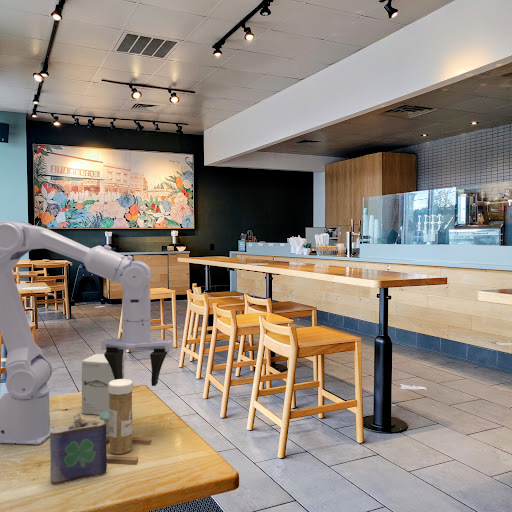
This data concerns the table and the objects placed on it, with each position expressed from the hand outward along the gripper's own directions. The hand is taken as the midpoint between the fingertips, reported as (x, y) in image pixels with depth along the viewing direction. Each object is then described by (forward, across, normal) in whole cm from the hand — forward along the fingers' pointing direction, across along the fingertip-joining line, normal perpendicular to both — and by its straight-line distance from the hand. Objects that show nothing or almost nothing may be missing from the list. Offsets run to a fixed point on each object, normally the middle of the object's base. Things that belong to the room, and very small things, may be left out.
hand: (136, 383), depth 104 cm
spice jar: (+11, 0, -8) cm, 13 cm away
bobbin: (+10, -5, -2) cm, 12 cm away
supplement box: (+11, -12, +12) cm, 20 cm away
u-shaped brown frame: (+10, 0, -9) cm, 14 cm away
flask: (+11, -4, -19) cm, 22 cm away
